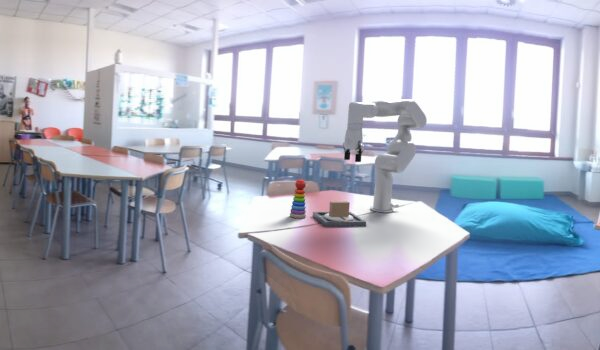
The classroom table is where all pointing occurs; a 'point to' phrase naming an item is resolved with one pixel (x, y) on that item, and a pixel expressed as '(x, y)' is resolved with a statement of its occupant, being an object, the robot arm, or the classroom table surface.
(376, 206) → the robot arm
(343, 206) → the dial
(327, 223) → the dial housing
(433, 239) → the classroom table surface
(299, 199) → the stacking toy
